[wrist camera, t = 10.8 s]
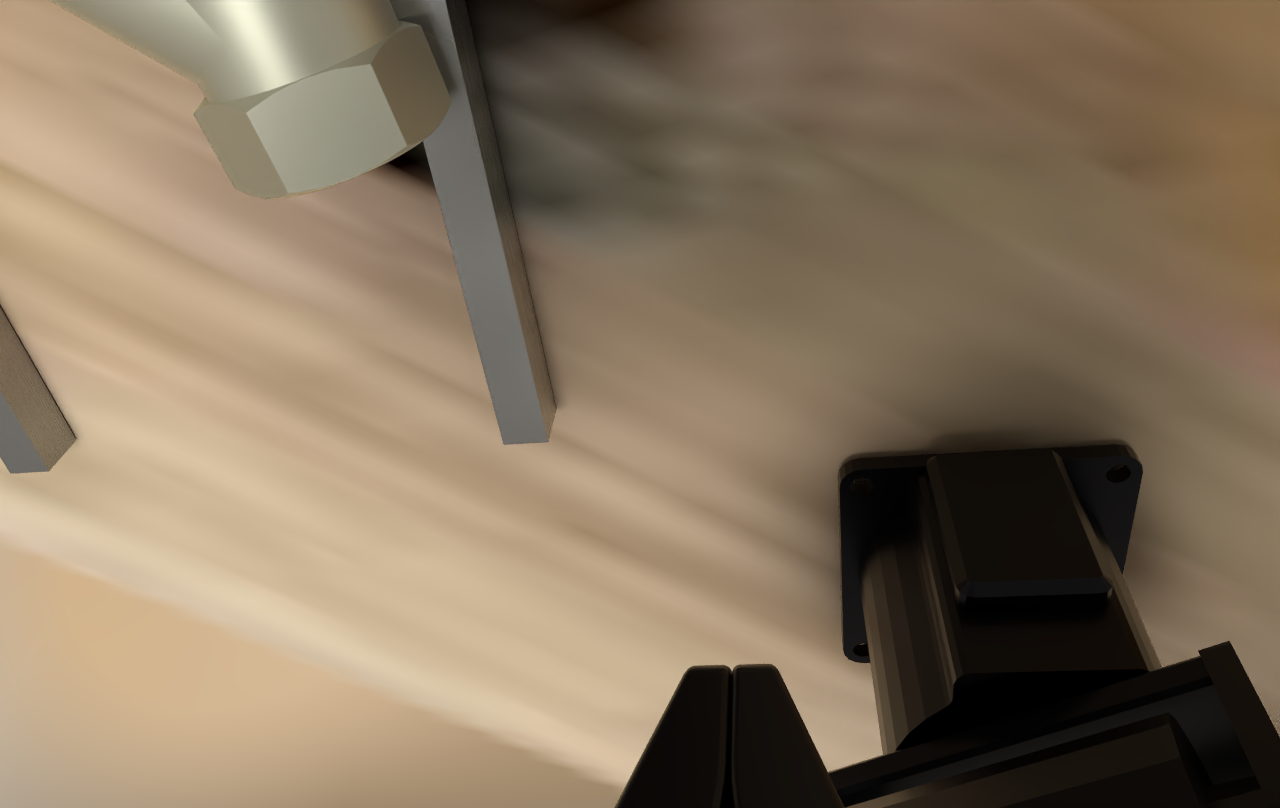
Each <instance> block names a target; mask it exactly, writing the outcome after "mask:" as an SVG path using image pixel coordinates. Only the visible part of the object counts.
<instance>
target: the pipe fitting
mask: <svg viewBox="0 0 1280 808" xmlns="http://www.w3.org/2000/svg"><path fill="white" fill-rule="evenodd" d="M49 1H51V2H53V3H54V4H56V5H58V6H60V7H62V8H63V9H65V10H67V11H69V12H70V13H72V14H74V15H76V16H78V17H79V18H81V19H83V20H85V21H86V22H88V23H90V24H92V25H94V26H95V27H97V28H99V29H101V30H102V31H104V32H106V33H108V34H109V35H111V36H113V37H115V38H117V39H118V40H120V41H122V42H124V43H125V44H127V45H129V46H131V47H132V48H134V49H136V50H138V51H140V52H141V53H143V54H145V55H147V56H148V57H150V58H152V59H154V60H155V61H157V62H159V63H161V64H163V65H164V66H166V67H168V68H170V69H171V70H173V71H175V72H177V73H178V74H180V75H182V76H184V77H186V78H187V79H189V80H191V81H193V82H194V83H196V84H198V85H199V86H200V88H201V90H202V92H203V93H204V95H205V99H204V100H203V102H202V103H201V104H200V106H199V107H198V109H197V110H196V111H195V113H194V116H195V117H196V119H197V121H198V123H199V125H200V126H201V128H202V130H203V132H204V134H205V135H206V137H207V139H208V141H209V143H210V144H211V146H212V148H213V150H214V152H215V153H216V155H217V157H218V159H219V161H220V162H221V164H222V166H223V168H224V170H225V171H226V173H227V175H228V177H229V179H230V180H231V182H232V184H233V186H234V188H236V189H238V190H240V191H242V192H244V193H246V194H249V195H251V196H254V197H258V198H262V199H282V198H289V197H294V196H299V195H303V194H307V193H311V192H314V191H318V190H321V189H324V188H327V187H330V186H333V185H336V184H339V183H342V182H344V181H347V180H349V179H352V178H354V177H357V176H359V175H362V174H364V173H366V172H368V171H371V170H373V169H375V168H377V167H379V166H381V165H383V164H385V163H387V162H389V161H391V160H393V159H395V158H397V157H398V156H400V155H402V154H404V153H405V152H407V151H409V150H410V149H412V148H413V147H415V146H416V145H418V144H419V143H421V142H422V141H423V140H425V139H426V138H427V137H429V136H430V135H431V134H432V133H433V132H434V131H435V130H436V129H437V128H438V127H439V125H440V124H441V122H442V121H443V119H444V118H445V116H446V114H447V112H448V109H449V107H450V105H451V103H452V100H451V98H450V95H449V93H448V90H447V88H446V86H445V83H444V81H443V78H442V76H441V73H440V71H439V69H438V66H437V64H436V61H435V59H434V56H433V54H432V52H431V49H430V47H429V44H428V42H427V39H426V37H425V35H424V32H423V30H422V27H421V26H420V25H417V24H413V23H410V22H404V21H399V20H398V19H397V17H396V15H395V12H394V10H393V7H392V5H391V3H390V0H49Z"/></svg>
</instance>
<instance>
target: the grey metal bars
mask: <svg viewBox="0 0 1280 808" xmlns="http://www.w3.org/2000/svg"><path fill="white" fill-rule="evenodd" d="M390 3H391V5H392V7H393V10H394V12H395V15H396V17H397V19H398V20H399V21H404V22H410V23H413V24H417V25H420V26H421V27H422V30H423V32H424V35H425V37H426V39H427V42H428V44H429V47H430V49H431V52H432V54H433V56H434V59H435V61H436V64H437V66H438V69H439V71H440V73H441V76H442V78H443V81H444V83H445V86H446V88H447V90H448V93H449V95H450V98H451V100H452V103H451V105H450V107H449V109H448V112H447V114H446V116H445V118H444V119H443V121H442V122H441V124H440V125H439V127H438V128H437V129H436V130H435V131H434V132H433V133H432V134H431V135H430V136H429V137H427V138H426V139H425V140H423V143H424V147H425V151H426V154H427V158H428V162H429V166H430V169H431V173H432V177H433V181H434V184H435V188H436V192H437V196H438V200H439V203H440V207H441V211H442V215H443V218H444V222H445V226H446V230H447V233H448V237H449V241H450V245H451V248H452V252H453V256H454V260H455V264H456V267H457V271H458V275H459V279H460V282H461V286H462V290H463V294H464V297H465V301H466V305H467V309H468V312H469V316H470V320H471V324H472V327H473V331H474V335H475V339H476V343H477V346H478V350H479V354H480V358H481V361H482V365H483V369H484V373H485V376H486V380H487V384H488V388H489V391H490V395H491V399H492V403H493V406H494V410H495V414H496V418H497V422H498V425H499V429H500V433H501V437H502V440H503V444H504V445H506V444H523V443H540V442H548V441H549V437H550V433H551V429H552V425H553V421H554V417H555V413H556V407H555V402H554V398H553V393H552V389H551V384H550V380H549V375H548V371H547V366H546V362H545V357H544V353H543V348H542V344H541V339H540V335H539V330H538V326H537V321H536V317H535V312H534V308H533V303H532V299H531V294H530V290H529V285H528V281H527V276H526V272H525V267H524V263H523V258H522V254H521V249H520V245H519V240H518V236H517V231H516V227H515V222H514V218H513V213H512V209H511V204H510V200H509V195H508V191H507V186H506V182H505V177H504V173H503V168H502V164H501V159H500V155H499V150H498V146H497V141H496V137H495V132H494V128H493V123H492V119H491V114H490V110H489V105H488V101H487V96H486V92H485V87H484V83H483V78H482V74H481V69H480V65H479V60H478V56H477V51H476V47H475V42H474V38H473V33H472V29H471V24H470V20H469V15H468V11H467V6H466V2H465V0H390ZM75 441H76V439H75V437H74V435H73V433H72V432H71V430H70V428H69V426H68V425H67V423H66V421H65V419H64V418H63V416H62V414H61V412H60V411H59V409H58V407H57V405H56V404H55V402H54V400H53V398H52V397H51V395H50V393H49V391H48V390H47V388H46V386H45V384H44V383H43V381H42V379H41V377H40V376H39V374H38V372H37V370H36V369H35V367H34V365H33V363H32V362H31V360H30V358H29V356H28V355H27V353H26V351H25V349H24V348H23V346H22V344H21V342H20V341H19V339H18V337H17V335H16V334H15V332H14V330H13V328H12V327H11V325H10V323H9V321H8V320H7V318H6V316H5V314H4V313H3V311H2V309H1V307H0V458H1V459H2V461H3V462H4V464H5V465H6V467H7V469H8V470H9V472H10V473H28V472H45V471H50V470H51V468H52V467H53V466H54V465H55V464H56V463H57V462H58V460H59V459H60V458H61V457H62V456H63V455H64V454H65V452H66V451H67V450H68V449H69V448H70V447H71V446H72V444H73V443H74V442H75Z"/></svg>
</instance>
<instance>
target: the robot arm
mask: <svg viewBox="0 0 1280 808" xmlns="http://www.w3.org/2000/svg"><path fill="white" fill-rule="evenodd" d="M1117 465H1123V467H1121V468H1120V469H1118V470H1115V471H1108V470H1109V469H1110V468H1112V467H1113V466H1117ZM1142 474H1143V469H1142V464H1141V463H1140V461H1139V459H1138V457H1137V455H1136V453H1135V452H1134V451H1133V449H1131V448H1129V447H1127V446H1125V445H1099V446H1080V447H1062V448H1043V449H1025V450H1006V451H987V452H969V453H950V454H932V455H913V456H895V457H876V458H859V459H854V460H851V461H849V462H847V463H845V464H844V465H843V466H842V468H841V469H840V470H839V474H838V498H839V537H840V577H841V616H842V643H843V651H844V654H845V656H846V657H847V658H848V659H849V660H852V661H854V662H859V663H871V670H872V677H873V685H874V692H875V699H876V707H877V714H878V721H879V728H880V736H881V743H882V750H883V755H881V756H878V757H875V758H872V759H868V760H865V761H862V762H859V763H856V764H852V765H849V766H846V767H843V768H840V769H836V770H833V771H830V772H827V770H826V768H825V766H824V764H823V761H822V759H821V757H820V755H819V753H818V751H817V749H816V747H815V745H814V743H813V741H812V739H811V737H810V735H809V733H808V730H807V728H806V726H805V724H804V722H803V720H802V718H801V716H800V714H799V712H798V710H797V708H796V706H795V704H794V701H793V699H792V697H791V695H790V693H789V691H788V689H787V687H786V685H785V683H784V681H783V679H782V677H781V675H780V673H779V671H778V669H777V668H776V667H775V666H774V665H772V664H744V665H737V666H736V667H734V669H733V671H731V669H730V668H729V667H728V666H725V665H705V666H692V667H690V668H689V669H688V670H687V671H686V672H685V673H684V675H683V677H682V679H681V681H680V683H679V685H678V686H677V688H676V690H675V692H674V694H673V696H672V698H671V700H670V702H669V704H668V706H667V708H666V710H665V711H664V713H663V715H662V717H661V719H660V721H659V723H658V725H657V727H656V729H655V731H654V733H653V734H652V736H651V738H650V740H649V742H648V744H647V746H646V748H645V750H644V752H643V754H642V756H641V758H640V759H639V761H638V763H637V765H636V767H635V769H634V771H633V773H632V775H631V777H630V779H629V781H628V783H627V784H626V786H625V788H624V790H623V792H622V794H621V796H620V798H619V800H618V802H617V804H616V806H615V808H1280V737H1279V735H1278V733H1277V731H1276V729H1275V727H1274V726H1273V724H1272V722H1271V720H1270V718H1269V716H1268V714H1267V712H1266V710H1265V708H1264V706H1263V704H1262V702H1261V700H1260V699H1259V697H1258V695H1257V693H1256V691H1255V689H1254V687H1253V685H1252V683H1251V681H1250V679H1249V677H1248V675H1247V674H1246V672H1245V670H1244V668H1243V666H1242V664H1241V662H1240V660H1239V658H1238V656H1237V654H1236V652H1235V650H1234V649H1233V647H1232V645H1231V643H1230V641H1227V642H1224V643H1221V644H1218V645H1214V646H1211V647H1208V648H1205V649H1202V650H1199V654H1200V656H1198V657H1195V658H1192V659H1188V660H1185V661H1182V662H1179V663H1176V664H1172V665H1169V666H1166V667H1163V668H1162V666H1161V664H1160V661H1159V659H1158V657H1157V654H1156V652H1155V650H1154V647H1153V645H1152V643H1151V640H1150V638H1149V636H1148V634H1147V631H1146V629H1145V627H1144V624H1143V622H1142V620H1141V617H1140V615H1139V613H1138V610H1137V608H1136V606H1135V604H1134V601H1133V599H1132V597H1131V594H1130V592H1129V590H1128V587H1127V585H1126V583H1125V580H1124V578H1123V576H1122V574H1123V569H1124V564H1125V559H1126V554H1127V549H1128V544H1129V539H1130V534H1131V529H1132V524H1133V519H1134V514H1135V509H1136V504H1137V499H1138V494H1139V489H1140V484H1141V479H1142ZM859 478H866V479H869V481H867V482H866V483H862V484H856V483H853V481H854V480H856V479H859ZM862 643H865V644H863V645H860V644H862Z"/></svg>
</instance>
